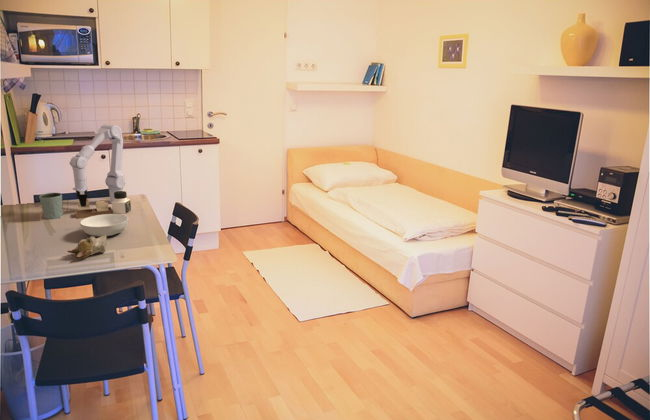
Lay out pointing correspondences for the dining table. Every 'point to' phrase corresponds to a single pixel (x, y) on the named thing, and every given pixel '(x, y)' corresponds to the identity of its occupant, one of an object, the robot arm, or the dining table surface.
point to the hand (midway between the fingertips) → (83, 204)
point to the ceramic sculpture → (90, 246)
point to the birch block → (83, 207)
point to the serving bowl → (104, 224)
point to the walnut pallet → (91, 213)
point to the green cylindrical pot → (52, 205)
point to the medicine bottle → (121, 203)
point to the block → (102, 206)
